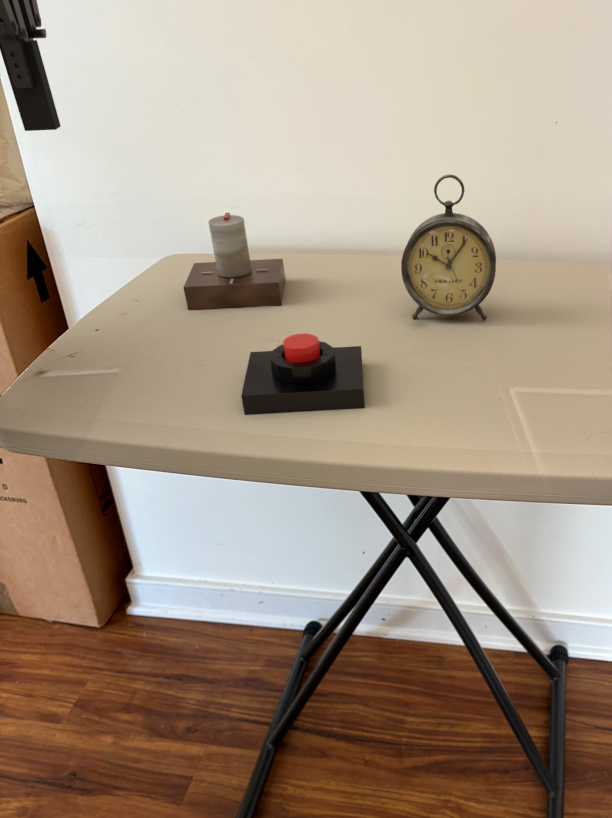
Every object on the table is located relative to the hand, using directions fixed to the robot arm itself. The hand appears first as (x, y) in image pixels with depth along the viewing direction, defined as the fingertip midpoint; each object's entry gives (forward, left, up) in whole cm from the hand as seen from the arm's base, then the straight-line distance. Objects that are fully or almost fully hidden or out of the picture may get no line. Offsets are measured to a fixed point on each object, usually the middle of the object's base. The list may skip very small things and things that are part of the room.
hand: (42, 128), depth 67 cm
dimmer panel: (+11, +23, -24) cm, 35 cm away
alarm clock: (+38, +12, -25) cm, 47 cm away
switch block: (+21, -5, -24) cm, 33 cm away
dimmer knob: (+11, +23, -21) cm, 33 cm away
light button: (+21, -5, -21) cm, 30 cm away
